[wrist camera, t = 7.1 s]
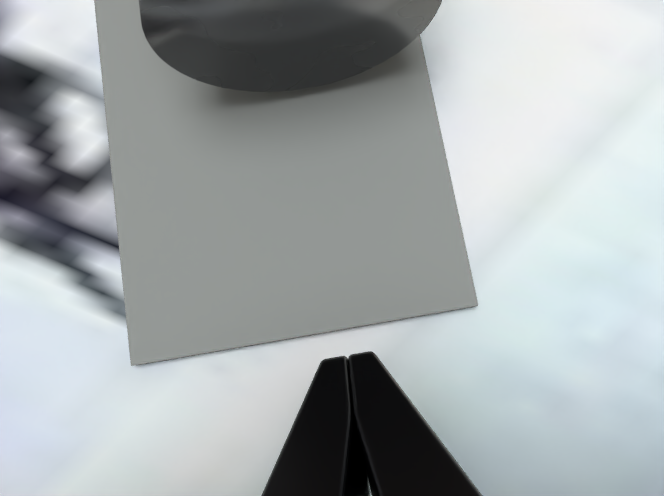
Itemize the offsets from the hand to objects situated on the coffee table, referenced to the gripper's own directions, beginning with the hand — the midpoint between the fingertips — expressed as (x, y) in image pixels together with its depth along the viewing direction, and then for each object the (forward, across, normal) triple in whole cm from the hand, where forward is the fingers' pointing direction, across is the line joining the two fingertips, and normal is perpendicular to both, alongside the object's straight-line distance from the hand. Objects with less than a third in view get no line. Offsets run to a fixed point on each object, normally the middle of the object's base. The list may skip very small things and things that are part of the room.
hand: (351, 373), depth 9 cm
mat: (+13, +2, -3) cm, 13 cm away
